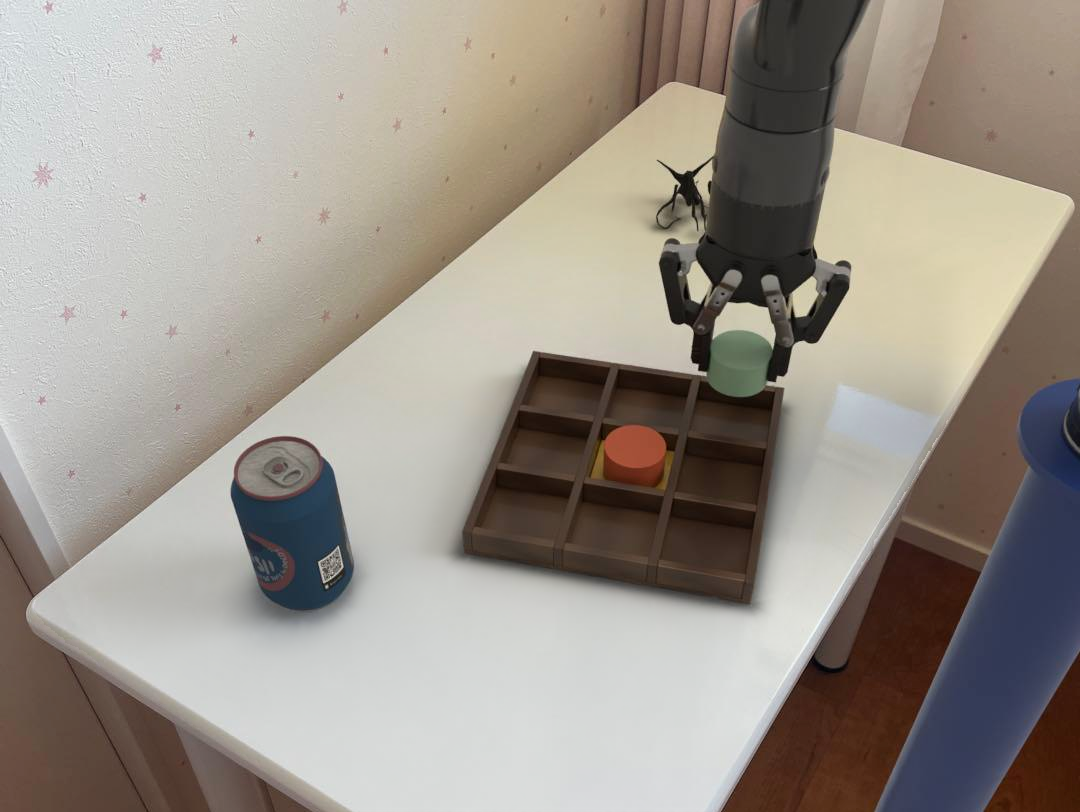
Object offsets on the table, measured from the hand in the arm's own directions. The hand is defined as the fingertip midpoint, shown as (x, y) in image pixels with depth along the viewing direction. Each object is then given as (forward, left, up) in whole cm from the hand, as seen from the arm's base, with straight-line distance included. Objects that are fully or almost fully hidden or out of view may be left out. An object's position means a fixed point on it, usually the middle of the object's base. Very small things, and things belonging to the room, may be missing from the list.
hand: (737, 369), depth 86 cm
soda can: (+28, +23, -7) cm, 37 cm away
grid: (+7, +7, -7) cm, 12 cm away
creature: (+8, -31, -7) cm, 33 cm away
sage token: (0, 0, -1) cm, 1 cm away
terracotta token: (+7, +7, -6) cm, 11 cm away
